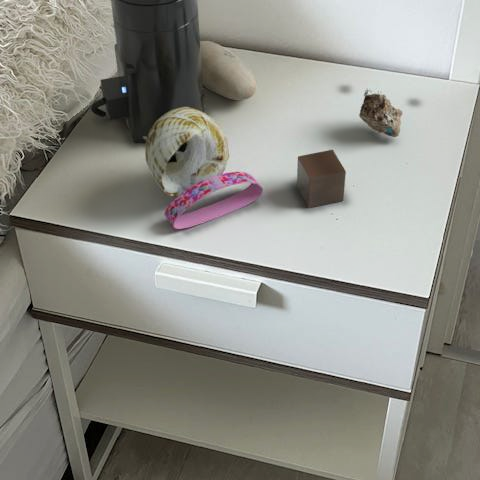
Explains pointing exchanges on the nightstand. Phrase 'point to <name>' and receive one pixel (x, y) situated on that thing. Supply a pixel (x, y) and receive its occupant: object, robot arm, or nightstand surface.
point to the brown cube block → (320, 178)
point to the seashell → (185, 150)
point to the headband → (213, 210)
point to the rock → (380, 114)
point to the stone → (225, 72)
